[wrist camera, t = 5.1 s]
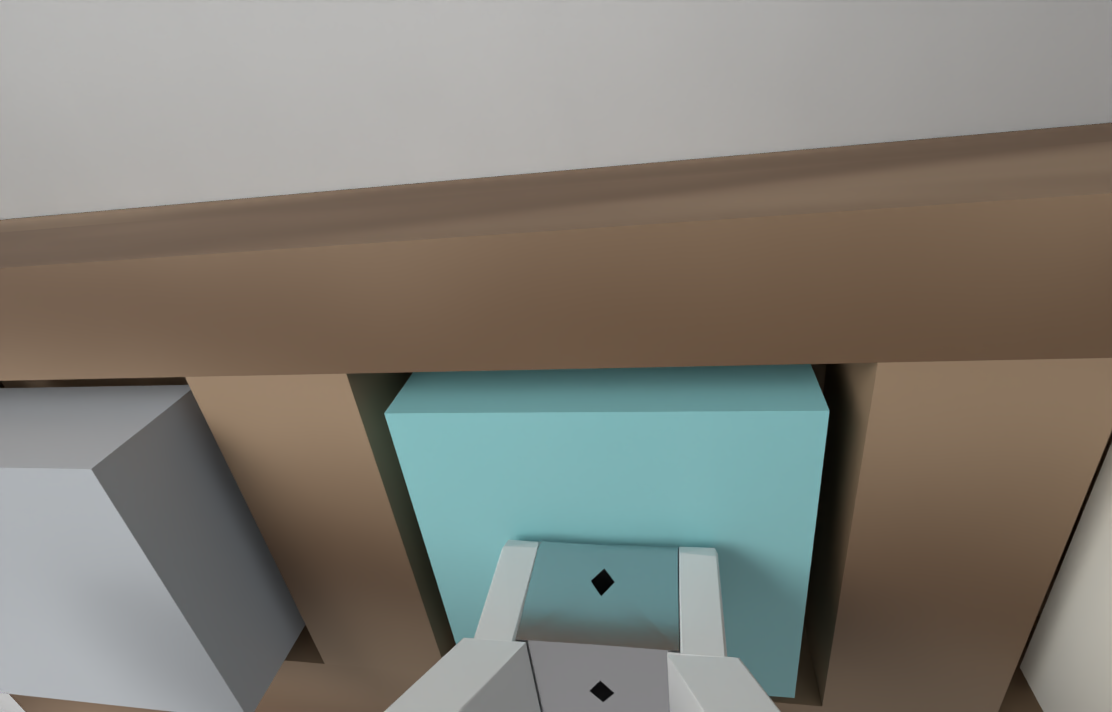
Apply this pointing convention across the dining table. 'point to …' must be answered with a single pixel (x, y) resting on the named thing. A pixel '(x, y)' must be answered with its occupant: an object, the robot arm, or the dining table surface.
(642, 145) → the dining table surface
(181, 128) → the dining table surface
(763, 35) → the dining table surface
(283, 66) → the dining table surface
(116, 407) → the grey key
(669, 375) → the teal key
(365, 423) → the keypad
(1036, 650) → the cream key
